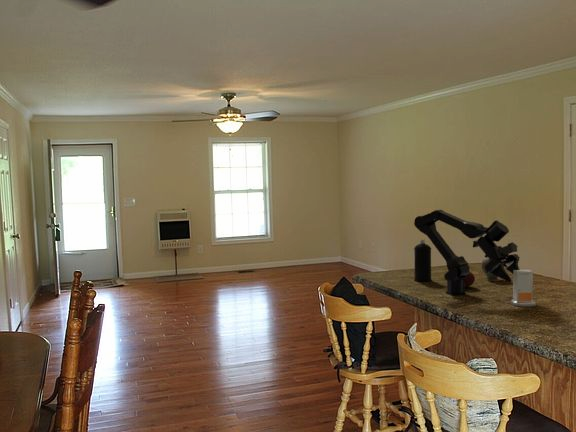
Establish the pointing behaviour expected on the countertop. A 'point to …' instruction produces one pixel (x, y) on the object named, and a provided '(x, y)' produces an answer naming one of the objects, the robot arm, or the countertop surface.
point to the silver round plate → (523, 303)
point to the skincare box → (522, 285)
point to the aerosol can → (422, 262)
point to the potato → (469, 279)
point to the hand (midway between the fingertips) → (516, 279)
